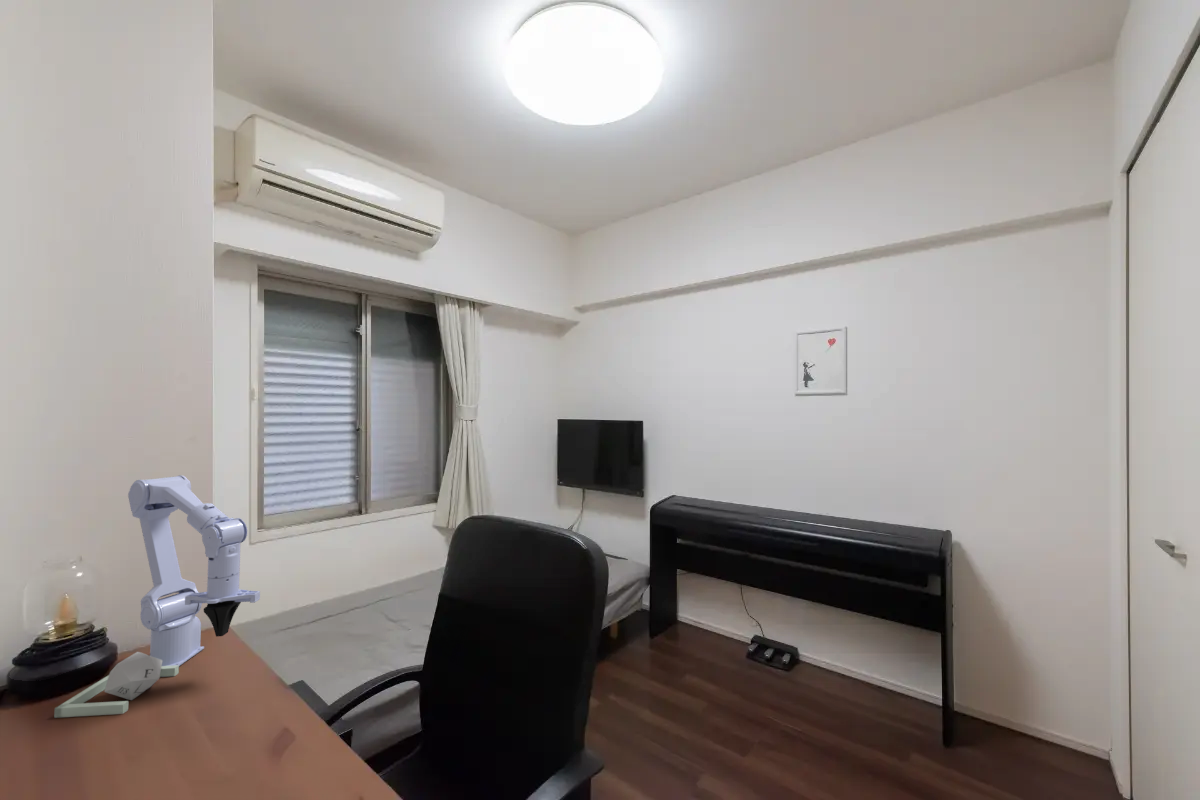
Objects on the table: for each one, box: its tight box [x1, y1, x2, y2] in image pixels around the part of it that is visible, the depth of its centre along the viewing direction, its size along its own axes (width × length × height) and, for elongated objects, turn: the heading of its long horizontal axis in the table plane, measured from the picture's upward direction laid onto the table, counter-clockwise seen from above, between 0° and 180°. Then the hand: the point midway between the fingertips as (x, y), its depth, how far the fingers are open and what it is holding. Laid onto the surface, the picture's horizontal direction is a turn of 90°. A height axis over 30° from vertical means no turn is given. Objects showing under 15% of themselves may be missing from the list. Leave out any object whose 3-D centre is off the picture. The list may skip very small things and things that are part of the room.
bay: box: [53, 665, 180, 719], centre depth 100 cm, size 14×12×2 cm
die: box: [103, 651, 163, 701], centre depth 100 cm, size 8×9×10 cm
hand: (221, 634), depth 107 cm, fingers closed
